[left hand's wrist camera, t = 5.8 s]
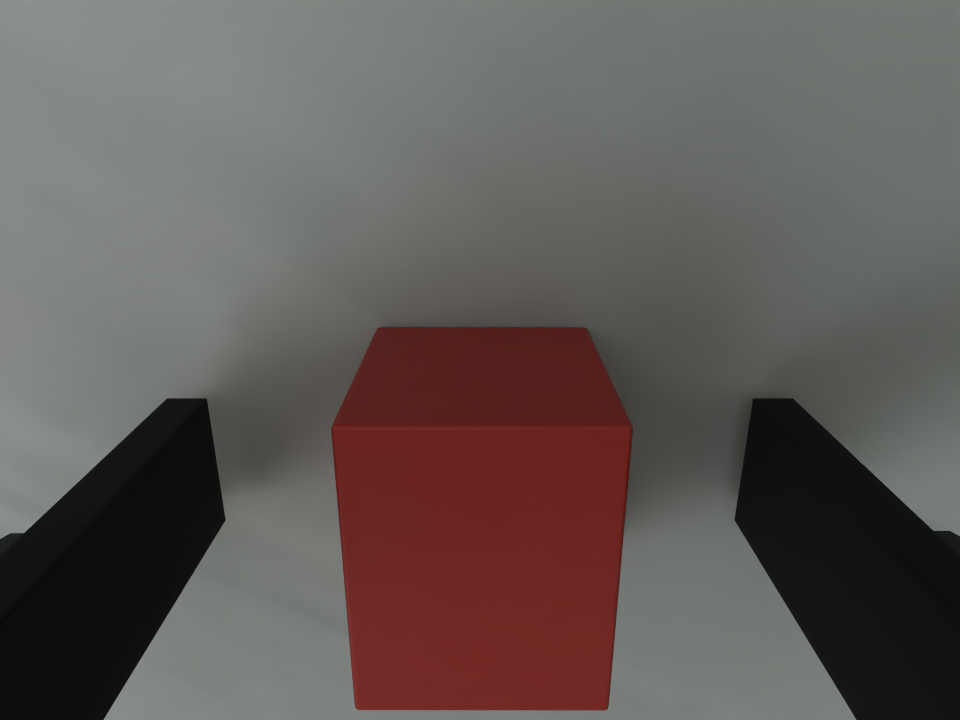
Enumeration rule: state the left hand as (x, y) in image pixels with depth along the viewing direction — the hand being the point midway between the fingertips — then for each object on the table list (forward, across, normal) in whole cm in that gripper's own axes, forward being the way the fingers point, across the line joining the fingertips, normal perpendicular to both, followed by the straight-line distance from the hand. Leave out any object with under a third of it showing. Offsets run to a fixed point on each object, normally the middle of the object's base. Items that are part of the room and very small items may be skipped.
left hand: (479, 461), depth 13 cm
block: (+1, 0, 0) cm, 1 cm away
